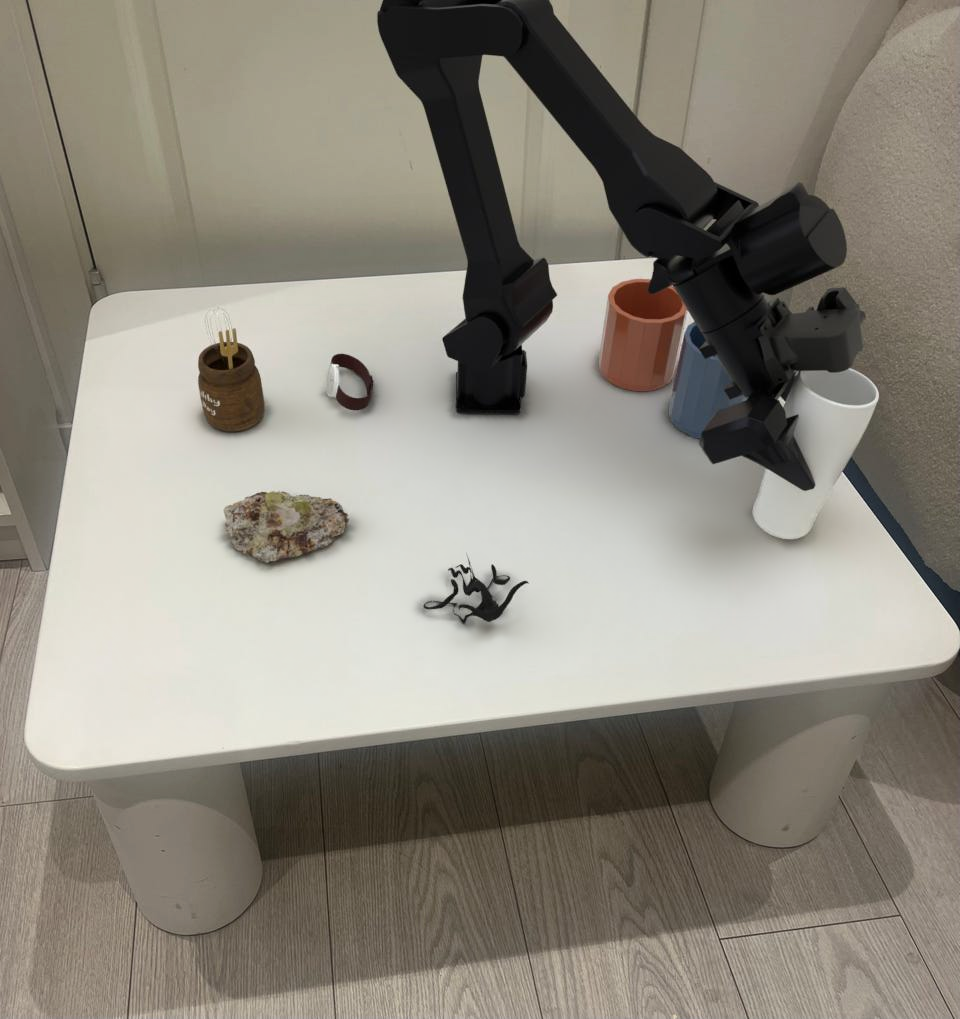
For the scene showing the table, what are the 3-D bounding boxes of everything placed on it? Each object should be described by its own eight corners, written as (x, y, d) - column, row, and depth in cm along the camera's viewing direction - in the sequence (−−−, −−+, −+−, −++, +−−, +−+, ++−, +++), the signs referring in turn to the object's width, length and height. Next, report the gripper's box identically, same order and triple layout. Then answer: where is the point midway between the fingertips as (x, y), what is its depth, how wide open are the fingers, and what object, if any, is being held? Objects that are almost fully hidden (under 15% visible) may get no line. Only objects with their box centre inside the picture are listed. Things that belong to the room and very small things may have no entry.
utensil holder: (255, 390, 103) (240, 287, 95) (274, 426, 99) (259, 323, 91) (197, 404, 101) (176, 301, 93) (214, 442, 97) (194, 337, 89)
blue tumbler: (674, 439, 100) (692, 361, 93) (663, 393, 105) (679, 316, 98) (748, 441, 100) (771, 362, 93) (734, 394, 105) (754, 317, 99)
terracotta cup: (602, 390, 105) (613, 321, 99) (595, 345, 111) (604, 278, 105) (679, 392, 105) (694, 323, 99) (667, 347, 111) (681, 279, 105)
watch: (321, 373, 105) (318, 344, 103) (365, 367, 106) (364, 338, 104) (334, 419, 100) (331, 390, 98) (381, 412, 101) (379, 383, 99)
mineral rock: (218, 554, 83) (222, 472, 87) (224, 578, 87) (227, 497, 91) (350, 550, 85) (347, 469, 89) (350, 573, 89) (348, 494, 92)
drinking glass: (831, 544, 90) (897, 405, 80) (763, 551, 88) (823, 409, 78) (794, 496, 95) (852, 359, 85) (730, 501, 93) (782, 362, 83)
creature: (411, 600, 85) (453, 653, 79) (404, 548, 82) (447, 599, 76) (493, 570, 88) (540, 619, 82) (490, 518, 85) (537, 566, 79)
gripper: (774, 332, 71) (878, 508, 75) (856, 225, 82) (943, 383, 86) (653, 381, 79) (753, 538, 83) (744, 278, 91) (827, 419, 94)
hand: (823, 466), depth 86 cm, fingers closed on drinking glass, 6 cm apart
